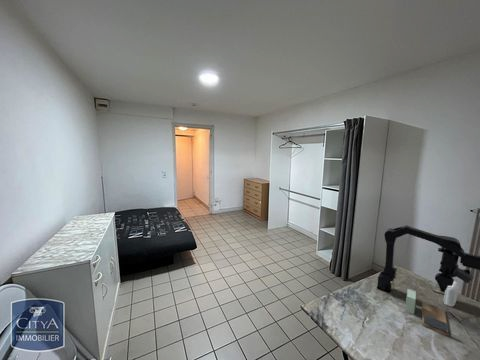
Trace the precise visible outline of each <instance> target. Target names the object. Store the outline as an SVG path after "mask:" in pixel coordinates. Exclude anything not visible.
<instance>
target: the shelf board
mask: <svg viewBox="0 0 480 360" xmlns="http://www.w3.org/2000/svg"><path fill="white" fill-rule="evenodd" d="M425 315H427V316H429V317H432V318H434V319H437V320H439V321H442V322H444V323H447V324H448V322H447V315H446V310H445V309H444V308H443V307H442V308H441V307H439V306H437V305H434V304H431V303H428V302H426V301H423V300H422V301H421V325H422V326H423V327H425V328H427V329H430V330H432V331H434V332H436V333H439V334H441V335H442V336H443V335H444V336H445V337H449V329H447V333H446V332H444V331H441V330H439V329H437V328H434V327H432V326H430V325H427V324H425V323H424V316H425Z"/></svg>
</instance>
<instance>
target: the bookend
mask: <svg viewBox="0 0 480 360" xmlns="http://www.w3.org/2000/svg"><path fill="white" fill-rule="evenodd" d="M424 323H425V324H427V325H430V326H432V327H434V328H437V329H439V330H441V331H444V332H446V333H447V329H448V328H449V324H448V322H447V323H444V322H442V321H439V320H437V319H434V318H432V317H429V316H427V315H425V316H424ZM448 330H449V329H448Z"/></svg>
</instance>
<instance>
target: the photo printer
mask: <svg viewBox="0 0 480 360" xmlns="http://www.w3.org/2000/svg"><path fill="white" fill-rule="evenodd" d="M459 286H460V285H459V283H458V282H457V281H455V280H454V283H453V285H452V286H448V287H447V288H446V290H445V292H444V296H443V303H444V305H446V306H448V307H454V306H455V305H456V302H457V301H458V300H457V299H458V293H459Z"/></svg>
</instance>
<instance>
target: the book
mask: <svg viewBox="0 0 480 360" xmlns="http://www.w3.org/2000/svg"><path fill="white" fill-rule="evenodd" d="M416 295H417V291H416V290H413V289H410V288H407V291H406V298H405V310H404V311H405V312H407V313H409V314H412V315H415V307H416V300H417V299H416V297H417V296H416Z"/></svg>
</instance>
